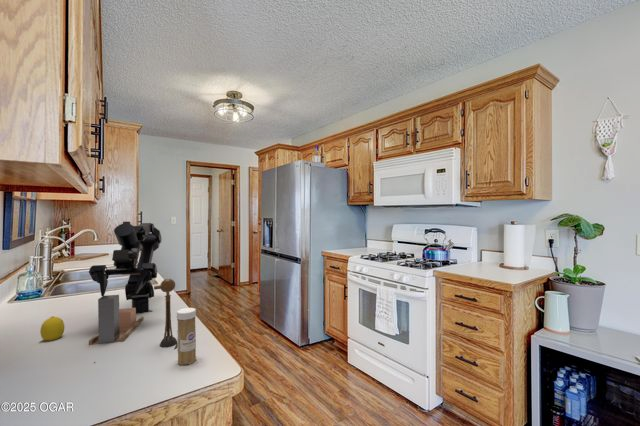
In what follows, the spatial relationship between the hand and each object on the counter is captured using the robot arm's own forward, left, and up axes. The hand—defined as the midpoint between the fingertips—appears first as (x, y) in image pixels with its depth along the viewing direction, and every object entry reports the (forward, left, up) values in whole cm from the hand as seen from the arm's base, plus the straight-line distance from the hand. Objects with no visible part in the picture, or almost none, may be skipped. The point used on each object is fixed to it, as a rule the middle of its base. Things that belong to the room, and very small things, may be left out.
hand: (119, 294), depth 96 cm
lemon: (-13, -13, -14) cm, 23 cm away
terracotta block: (-6, +4, -12) cm, 15 cm away
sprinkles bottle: (+33, +3, -14) cm, 36 cm away
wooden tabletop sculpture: (+21, +4, -14) cm, 25 cm away
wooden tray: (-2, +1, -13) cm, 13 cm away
